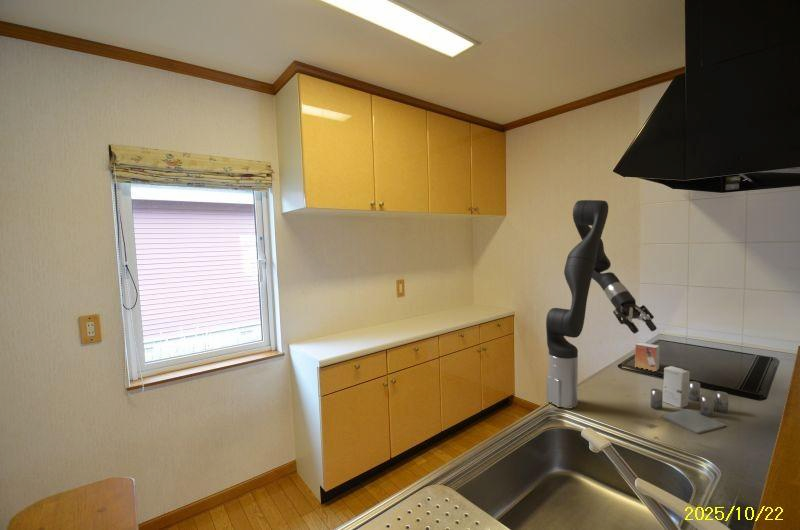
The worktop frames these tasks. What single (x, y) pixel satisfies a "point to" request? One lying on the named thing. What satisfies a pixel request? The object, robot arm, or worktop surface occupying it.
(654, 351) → the small box
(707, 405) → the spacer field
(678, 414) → the slate tile
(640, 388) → the worktop surface
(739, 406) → the worktop surface
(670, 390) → the skincare box
